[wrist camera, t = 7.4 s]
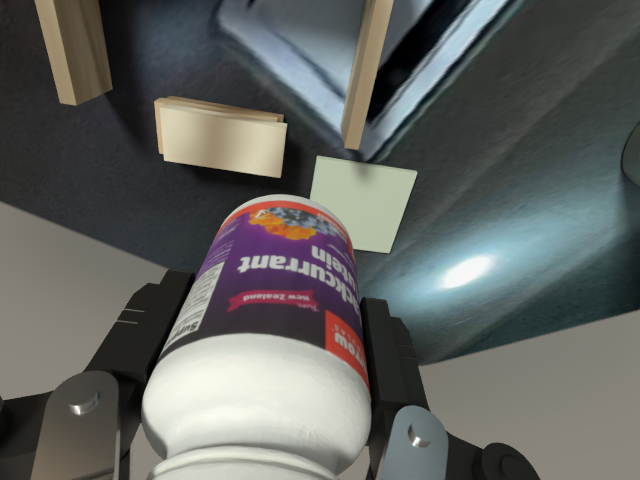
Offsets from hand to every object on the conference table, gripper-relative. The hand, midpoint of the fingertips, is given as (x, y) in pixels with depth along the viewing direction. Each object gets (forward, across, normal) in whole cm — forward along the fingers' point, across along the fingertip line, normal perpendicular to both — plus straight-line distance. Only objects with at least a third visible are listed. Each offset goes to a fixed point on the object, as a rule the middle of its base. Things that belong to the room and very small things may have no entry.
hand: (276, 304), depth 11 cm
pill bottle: (+3, 0, 0) cm, 3 cm away
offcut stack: (+21, +6, +2) cm, 22 cm away
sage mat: (+21, -6, +7) cm, 23 cm away
